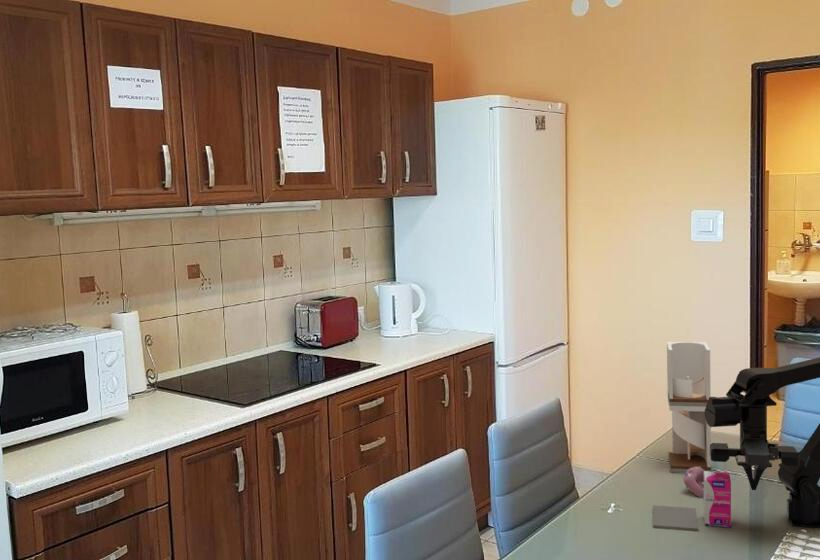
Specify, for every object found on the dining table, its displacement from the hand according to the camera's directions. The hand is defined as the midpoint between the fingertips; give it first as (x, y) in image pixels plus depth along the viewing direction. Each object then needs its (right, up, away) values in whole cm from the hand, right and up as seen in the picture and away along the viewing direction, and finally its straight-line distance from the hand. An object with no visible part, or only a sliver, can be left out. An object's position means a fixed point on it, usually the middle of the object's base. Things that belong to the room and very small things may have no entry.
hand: (753, 489), depth 179 cm
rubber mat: (-16, -9, +6) cm, 19 cm away
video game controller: (-4, -7, +23) cm, 24 cm away
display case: (0, -5, +41) cm, 41 cm away
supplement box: (-7, -9, +3) cm, 12 cm away
